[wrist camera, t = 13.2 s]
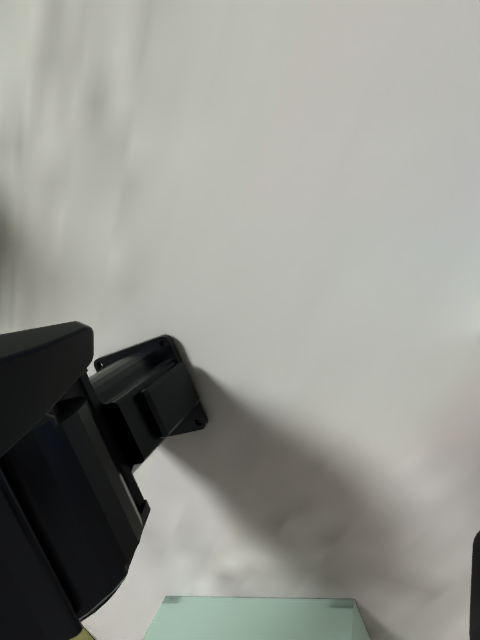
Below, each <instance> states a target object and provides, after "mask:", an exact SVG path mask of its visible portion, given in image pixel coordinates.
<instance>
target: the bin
mask: <svg viewBox="0 0 480 640" xmlns="http://www.w3.org/2000/svg"><path fill="white" fill-rule="evenodd" d="M142 640H371V639H370V637H369V635H368V632H367V630H366V627H365V625H364V623H363V620H362V618H361V615H360V613H359V610H358V608H357V606H356V603H355V601H354V600H353V599H294V598H235V597H176V596H166V597H165V599H164V601H163V603H162V605H161V606H160V608H159V610H158V612H157V614H156V616H155V617H154V619H153V621H152V623H151V625H150V627H149V628H148V630H147V632H146V634H145V636H144V638H143V639H142Z"/></svg>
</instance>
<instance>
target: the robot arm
mask: <svg viewBox="0 0 480 640" xmlns="http://www.w3.org/2000/svg"><path fill="white" fill-rule="evenodd" d="M163 340H164V341H165V342H166V343H167V346H166V345H164V344H163ZM93 356H94V333H93V330H92V328H91V327H89V326H87V325H85V324H83V323H80V322H77V321H74V322H68V323H62V324H57V325H51V326H45V327H40V328H34V329H29V330H23V331H18V332H12V333H6V334H1V335H0V640H70V639H72V638H74V637H76V636H78V635H79V634H80V633H81V631H82V629H83V625H82V623H81V621H83V620H84V619H86V618H87V617H89V616H90V615H92V614H93V613H95V612H96V611H97V610H98V609H99V608H101V607H102V606H103V605H104V604H105V603H106V602H107V601H108V600H109V599H110V598H111V597H112V596H113V594H114V593H115V592H116V591H117V589H118V588H119V586H120V585H121V584H122V582H123V581H124V580H125V578H126V576H127V573H128V569H129V566H130V563H131V561H132V558H133V555H134V553H135V550H136V548H137V546H138V544H139V542H140V538H141V534H142V531H143V529H144V526H145V523H146V521H147V518H148V515H149V513H150V507H149V504H148V502H147V500H144V498H143V496H142V494H141V492H140V489H139V487H138V485H137V483H136V481H135V478H134V476H133V473H134V472H135V471H136V470H137V469H138V468H139V466H140V465H141V464H142V463H143V462H144V461H145V460H146V459H147V458H148V457H149V456H150V454H151V453H152V452H153V451H154V450H155V449H156V448H157V447H158V446H159V445H160V444H161V443H162V441H163V440H164V439H165V438H166V437H168V436H173V435H178V434H183V433H187V432H192V431H197V430H201V429H204V427H205V426H206V425H207V424H208V418H207V416H206V414H205V411H204V409H203V407H202V405H201V402H200V400H199V396H198V394H197V392H196V389H195V387H194V385H193V383H192V380H191V378H190V376H189V374H188V371H187V369H186V367H185V365H184V364H183V362H182V359H181V357H180V355H179V353H178V350H177V348H176V346H175V344H174V341H173V339H172V338H171V337H170V336H169V335H166V334H165V335H161V336H158V337H155V338H153V339H150V340H147V341H144V342H141V343H139V344H136V345H133V346H130V347H128V348H125V349H122V350H119V351H116V352H114V353H111V354H108V355H105V356H102V357H100V358H98V359H96V360H95V361H94V367H95V369H96V371H97V373H95V374H94V375H92V376H90V377H88V375H87V373H86V372H87V371H88V370H87V367H88V366H89V364H90V363H91V361H92V359H93ZM101 363H102V365H103V366H102V365H101ZM198 419H199V420H201V422H202V423H200V422H199V421H198ZM469 634H470V640H480V531H479V532H478V533H477V534H476V536H475V538H474V542H473V552H472V575H471V598H470V630H469Z"/></svg>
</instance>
